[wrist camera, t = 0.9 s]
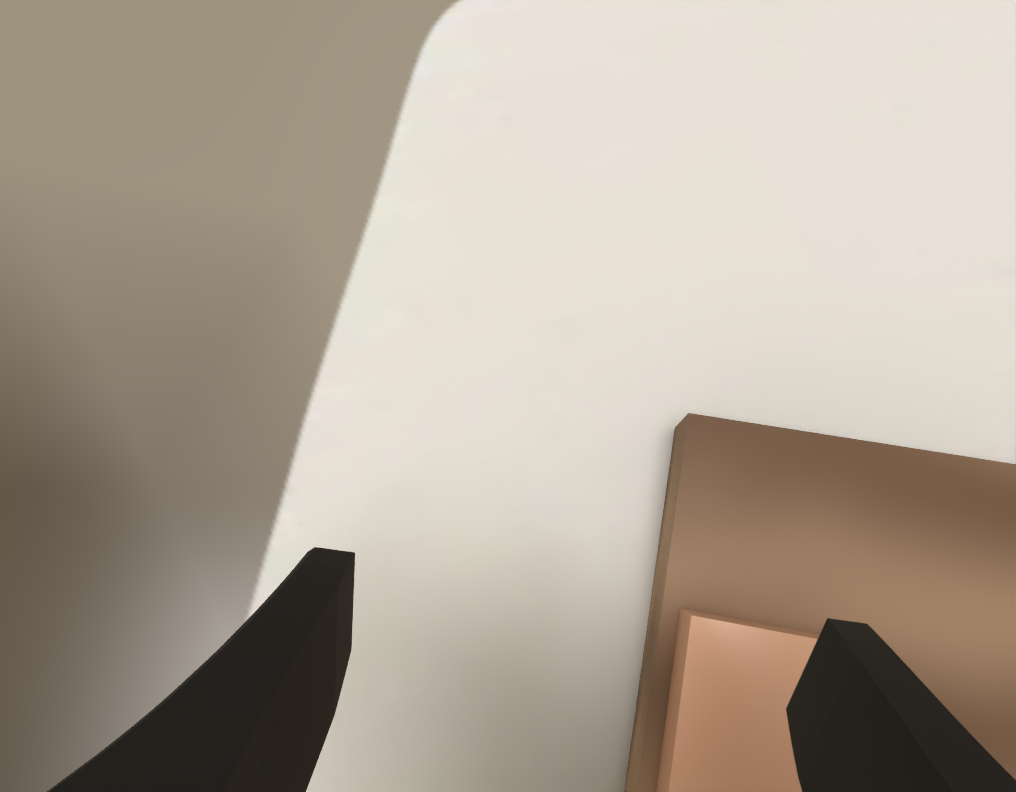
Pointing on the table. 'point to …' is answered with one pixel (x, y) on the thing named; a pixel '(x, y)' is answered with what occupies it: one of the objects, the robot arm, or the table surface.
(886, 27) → the table surface
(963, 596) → the walnut platform
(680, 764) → the terracotta tile
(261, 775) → the robot arm
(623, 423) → the table surface
